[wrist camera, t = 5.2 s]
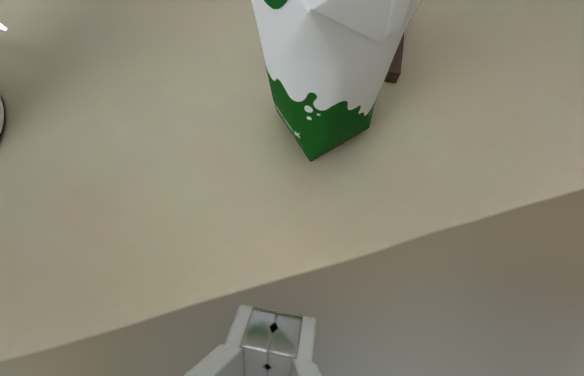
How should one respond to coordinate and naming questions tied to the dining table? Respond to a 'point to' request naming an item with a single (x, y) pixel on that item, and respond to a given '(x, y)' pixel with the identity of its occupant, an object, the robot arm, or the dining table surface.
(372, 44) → the soya milk
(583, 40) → the dining table surface
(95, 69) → the dining table surface
